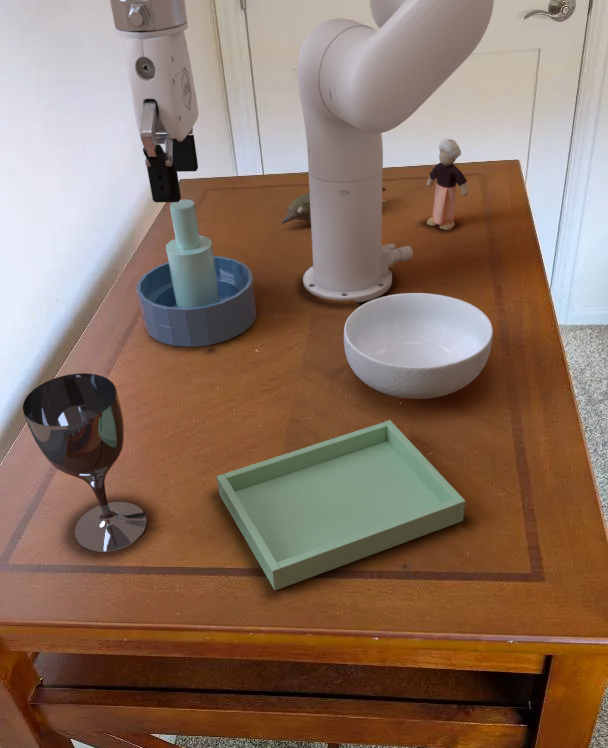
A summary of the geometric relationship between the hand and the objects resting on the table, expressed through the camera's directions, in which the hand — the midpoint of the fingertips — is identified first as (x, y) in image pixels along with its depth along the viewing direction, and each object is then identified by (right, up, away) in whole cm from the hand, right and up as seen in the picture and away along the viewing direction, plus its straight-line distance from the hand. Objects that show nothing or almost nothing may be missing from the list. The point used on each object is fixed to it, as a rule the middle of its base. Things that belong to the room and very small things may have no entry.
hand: (176, 185), depth 91 cm
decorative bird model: (+21, +11, +35) cm, 42 cm away
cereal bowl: (+28, -23, 0) cm, 37 cm away
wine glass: (-4, -41, -15) cm, 44 cm away
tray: (+18, -39, -15) cm, 46 cm away
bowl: (+1, -13, +13) cm, 18 cm away
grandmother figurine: (+37, +8, +31) cm, 49 cm away
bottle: (+1, -12, +12) cm, 17 cm away
